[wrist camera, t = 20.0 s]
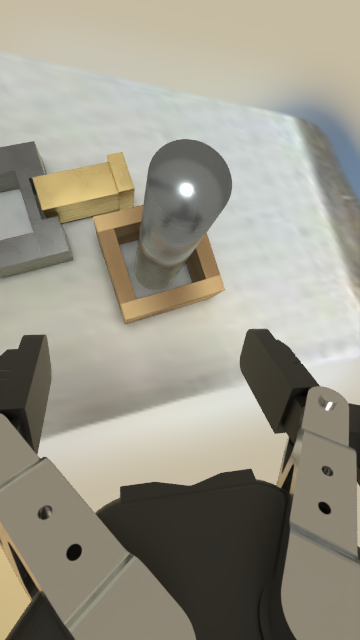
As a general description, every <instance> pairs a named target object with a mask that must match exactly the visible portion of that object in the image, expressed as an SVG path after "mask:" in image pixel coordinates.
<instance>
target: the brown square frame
mask: <svg viewBox="0 0 360 640" xmlns="http://www.w3.org/2000/svg"><path fill="white" fill-rule="evenodd" d="M142 212H143V205H141V206H137V207H132V208H128V209H124V210H120V211H115V212H111V213H107V214H103V215H98V216H94V217H93V220H94V224H95V229H96V233H97V237H98V240H99V243H100V246H101V249H102V253H103V256H104V259H105V262H106V265H107V268H108V272H109V275H110V278H111V281H112V284H113V287H114V291H115V294H116V297H117V300H118V303H119V306H120V309H121V313H122V316H123V319H124V322H125V324H128V323H131V322H134V321H137V320H141V319H144V318H147V317H150V316H154V315H157V314H160V313H163V312H167V311H170V310H173V309H176V308H180V307H183V306H186V305H189V304H193V303H196V302H199V301H202V300H206V299H209V298H212V297H213V296H215V295H217V294H218V293H220V292H222V291H224V290H225V288H224V285H223V282H222V279H221V276H220V273H219V270H218V267H217V263H216V260H215V257H214V254H213V251H212V248H211V245H210V242H209V239H208V236H207V233H206V234H205V235H204V237H203V238H202V240H201V241H200V242H199V244H198V245H197V247H196V248H195V249H194V251H193V252H192V254H191V255H190V256H189V258H188V259H187V261H186V264H187V267H188V270H189V273H190V276H191V279H192V282H193V283H191V284H188V285H185V286H181V287H178V288H174V289H171V290H168V291H164V292H161V293H157V294H154V295H151V296H147V297H144V298H140V299H137V300H136V297H135V294H134V291H133V288H132V285H131V281H130V278H129V275H128V272H127V269H126V266H125V263H124V259H123V256H122V253H121V250H120V247H119V244H123V243H127V242H130V241H134V240H138V239H139V233H140V226H141V219H142Z"/></svg>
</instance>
